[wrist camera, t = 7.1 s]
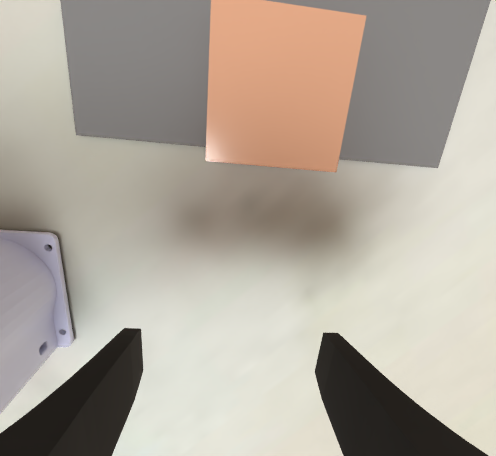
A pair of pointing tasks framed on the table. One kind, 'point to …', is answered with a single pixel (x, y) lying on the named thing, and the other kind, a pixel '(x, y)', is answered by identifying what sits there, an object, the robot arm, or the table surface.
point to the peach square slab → (279, 83)
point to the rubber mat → (197, 66)
